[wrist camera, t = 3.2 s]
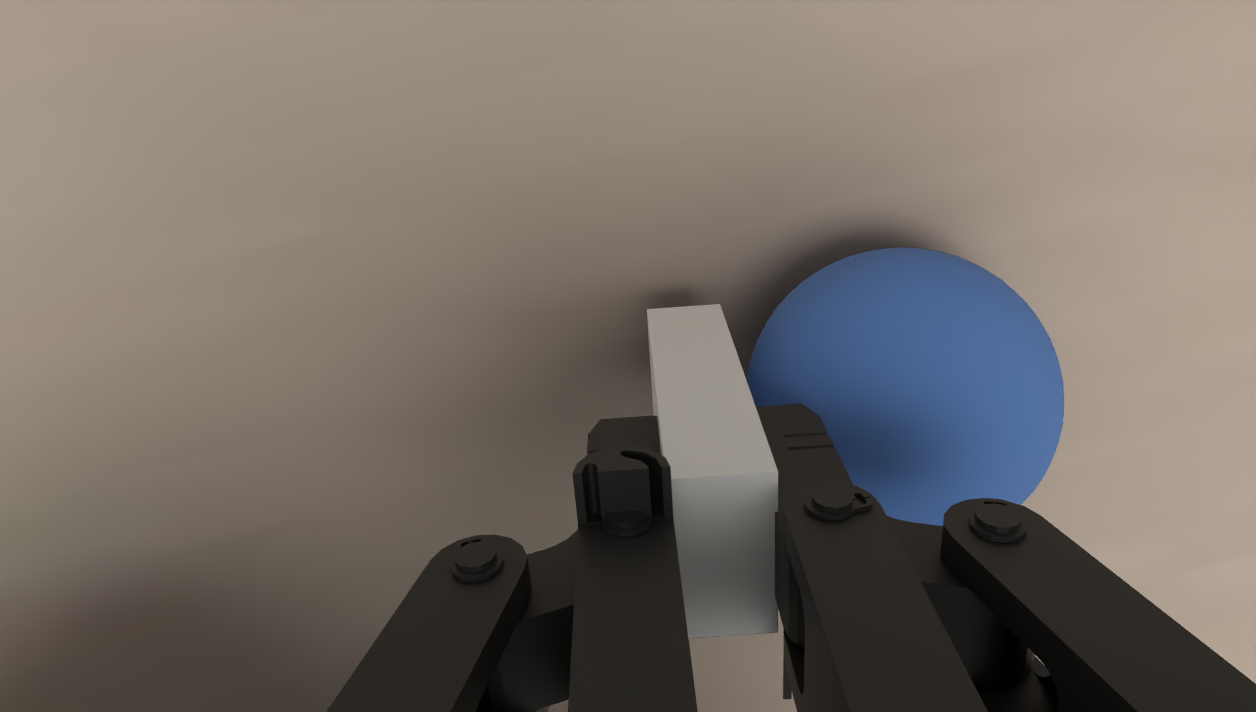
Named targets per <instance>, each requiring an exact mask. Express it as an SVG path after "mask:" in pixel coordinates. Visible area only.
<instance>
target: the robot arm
mask: <svg viewBox="0 0 1256 712" xmlns="http://www.w3.org/2000/svg"><path fill="white" fill-rule="evenodd" d="M647 320H648V336H649V352H650V367H651V383H652V399H653V414H654V416H642V417H627V418H613V419H601V420H600V421H599V422H598V423H597V424H596V426H595V427H594V428H593V429H592V430H591V432H590V433H589V434H588V447H587V453H588V454H587V456H586V457H585V458H584V459H582V460H581V461H580V462H579V463H577V465H576V467H575V470H574V472H573V481H574V490H575V499H576V509H577V518H578V530H577V531H576V532H575V533H574V534H573V535H572V536H570V537H569V538H568V539H567V540H565V541H563V542H561V543H559V544H558V545H556V546H553V547H550V548H548V549H545V550H542V551H538V552H535V553H531V554H528V555H526V553H525V551H524V548H523V546H522V545H520V544H519V543H517V542H516V541H514V540H513V539H511V538H507V537H503V536H498V535H478V536H473V537H469V538H465V539H462V540H458V541H456V542H454V543H452V544H451V545H449V546H447V547H445V548H443V549H442V550H441V551H440V552H438V553H437V554H436V555H435V556H434V557H433V558H432V559H431V560H430V562H429V563H428V565H427V566H426V568H425V569H424V571H423V572H422V574H421V575H420V576H419V578H418V579H417V581H416V582H415V584H414V585H413V587H412V588H411V590H410V591H409V593H408V594H407V595H406V597H405V598H404V600H403V601H402V603H401V604H400V606H399V607H398V609H397V610H396V611H395V613H394V614H393V616H392V617H391V619H390V620H389V622H388V623H387V625H386V626H385V628H384V629H383V630H382V632H381V633H380V635H379V636H378V638H377V639H376V641H375V642H374V644H373V645H372V647H371V648H370V649H369V651H368V652H367V654H366V655H365V657H364V658H363V660H362V661H361V663H360V664H359V666H358V667H357V668H356V670H355V671H354V673H353V674H352V676H351V677H350V679H349V680H348V682H347V683H346V684H345V686H344V687H343V689H342V690H341V692H340V693H339V695H338V696H337V698H336V699H335V701H334V702H333V703H332V705H331V706H330V708H329V709H328V711H327V712H548V706H550V705H553V704H556V703H559V702H562V701H565V700H568V699H569V704H568V712H697V704H696V696H695V688H694V680H693V672H692V664H691V656H690V648H689V640H688V638H701V637H716V636H731V635H745V634H760V633H775V632H778V609H779V612H780V616H781V620H782V624H783V627H784V674H783V699H791V694H792V693H793V697H794V701H795V705H796V708H797V712H1256V684H1255V683H1254V682H1253V681H1251V680H1250V679H1249V678H1247V677H1246V676H1245V675H1244V674H1242V673H1241V672H1240V671H1238V670H1237V669H1236V668H1235V667H1233V666H1232V665H1231V664H1230V663H1228V662H1227V661H1226V660H1224V659H1223V658H1222V657H1221V656H1219V655H1218V654H1217V653H1215V652H1214V651H1213V650H1212V649H1210V648H1209V647H1208V646H1207V645H1205V644H1204V643H1203V642H1201V641H1200V640H1199V639H1198V638H1196V637H1195V636H1194V635H1192V634H1191V633H1190V632H1189V631H1187V630H1186V629H1185V628H1184V627H1182V626H1181V625H1180V624H1178V623H1177V622H1176V621H1175V620H1173V619H1172V618H1171V617H1169V616H1168V615H1167V614H1166V613H1164V612H1163V611H1162V610H1161V609H1159V608H1158V607H1157V606H1155V605H1154V604H1153V603H1152V602H1150V601H1149V600H1148V599H1146V598H1145V597H1144V596H1143V595H1141V594H1140V593H1139V592H1138V591H1136V590H1135V589H1134V588H1132V587H1131V586H1130V585H1129V584H1127V583H1126V582H1125V581H1123V580H1122V579H1121V578H1120V577H1118V576H1117V575H1116V574H1114V573H1113V572H1112V571H1111V570H1109V569H1108V568H1107V567H1106V566H1104V565H1103V564H1102V563H1100V562H1099V561H1098V560H1097V559H1095V558H1094V557H1093V556H1091V555H1090V554H1089V553H1088V552H1086V551H1085V550H1084V549H1083V548H1081V547H1080V546H1079V545H1077V544H1076V543H1075V542H1074V541H1072V540H1071V539H1070V538H1068V537H1067V536H1066V535H1065V534H1063V533H1062V532H1061V531H1060V530H1058V529H1057V528H1056V527H1054V526H1053V525H1052V524H1051V523H1049V522H1048V521H1047V520H1045V519H1044V518H1043V517H1042V516H1040V515H1038V514H1037V513H1035V512H1033V511H1032V510H1030V509H1028V508H1026V507H1025V506H1022V505H1018V504H1015V503H1012V502H1009V501H1006V500H1001V499H993V498H978V499H967V500H964V501H961V502H959V503H956V504H954V505H952V506H951V507H950V508H949V509H948V510H947V511H946V512H945V513H944V519H943V526H938V525H930V524H923V523H915V522H909V521H904V520H899V519H895V518H893V517H890V516H887V515H886V514H885V512H884V510H883V508H882V506H881V504H880V503H879V502H878V501H877V499H876V498H875V497H874V496H873V495H872V494H871V493H869V492H867V491H865V490H863V489H861V488H860V487H858V486H854V485H853V483H852V481H851V479H850V477H849V475H848V473H847V471H846V469H845V467H844V465H843V463H842V461H841V459H840V457H839V454H838V452H837V450H836V448H834V444H833V442H832V440H831V438H830V436H829V435H828V434H827V430H826V428H825V426H824V424H823V422H822V420H821V418H820V416H819V415H817V414H816V413H815V412H813V411H812V410H810V409H809V408H807V407H806V406H804V405H803V404H802V403H797V404H783V405H768V406H755V404H754V401H753V398H752V395H751V392H750V389H749V386H748V384H747V381H746V378H745V375H744V372H743V369H742V366H741V363H740V360H739V358H738V355H737V352H736V349H735V346H734V343H733V340H732V337H731V335H730V332H729V329H728V326H727V323H726V320H725V317H724V314H723V311H722V309H721V306H720V304H712V305H698V306H684V307H670V308H656V309H647ZM1035 655H1036V656H1037V657H1038V658H1039V659H1040V660H1041V661H1042V663H1043V664H1044V665H1045V666H1044V665H1043V664H1042V663H1041V662H1040V661H1039V660H1038V659H1037V658H1036V657H1035Z"/></svg>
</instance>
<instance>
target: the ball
mask: <svg viewBox="0 0 1256 712" xmlns="http://www.w3.org/2000/svg"><path fill="white" fill-rule="evenodd" d="M747 384H748V386H749V389H750V392H751V395H752V398H753V401H754V404H755V406H768V405H783V404H797V403H802V404H803V405H804V406H806V407H807V408H809V409H810V410H812V411H813V412H815V413H816V414H817V415H819V416H820V418H821V420H822V422H823V424H824V426H825V428H826V430H827V434H828V435H829V436H830V438H831V440H832V442H833V444H834V448H836V450H837V452H838V454H839V457H840V459H841V461H842V463H843V465H844V467H845V469H846V471H847V473H848V475H849V477H850V479H851V481H852V483H853V485H854V486H858V487H860V488H861V489H863V490H865V491H867V492H869V493H871V494H872V495H873V496H874V497H875V498H876V499H877V501H878V502H879V503H880V504H881V506H882V508H883V510H884V512H885V514H886V515H887V516H890V517H893V518H895V519H899V520H904V521H909V522H915V523H923V524H930V525H938V526H943V519H944V513H945V512H946V511H947V510H948V509H949V508H950V507H951V506H952V505H954V504H956V503H959V502H961V501H964V500H967V499H978V498H993V499H1001V500H1006V501H1009V502H1012V503H1015V504H1018V505H1021V504H1022V503H1023V502H1024V501H1025V500H1026V499H1027V498H1028V497H1029V496H1030V494H1031V493H1032V492H1033V491H1034V490H1035V488H1036V487H1037V485H1038V484H1039V482H1040V481H1041V480H1042V478H1043V476H1044V475H1045V473H1046V471H1047V469H1048V467H1049V465H1050V463H1051V461H1052V458H1053V455H1054V453H1055V450H1056V447H1057V445H1058V442H1059V438H1060V433H1061V429H1062V425H1063V414H1064V390H1063V379H1062V375H1061V370H1060V365H1059V362H1058V359H1057V355H1056V353H1055V350H1054V347H1053V345H1052V342H1051V340H1050V337H1049V336H1048V334H1047V332H1046V331H1045V329H1044V327H1043V326H1042V324H1041V322H1040V321H1039V319H1038V317H1037V316H1036V314H1035V313H1034V312H1033V310H1032V309H1031V308H1030V307H1029V306H1028V304H1027V303H1026V302H1025V301H1024V300H1023V299H1022V298H1021V297H1020V296H1019V295H1018V294H1017V293H1016V292H1015V291H1014V290H1013V289H1011V288H1010V287H1009V286H1008V285H1007V284H1006V283H1005V282H1003V281H1002V280H1001V279H999V278H998V277H996V276H995V275H993V274H992V273H990V272H988V271H987V270H985V269H983V268H981V267H980V266H978V265H976V264H973V263H971V262H969V261H967V260H964V259H962V258H960V257H957V256H953V255H950V254H946V253H942V252H938V251H933V250H927V249H919V248H887V249H879V250H872V251H867V252H863V253H859V254H855V255H852V256H849V257H846V258H844V259H841V260H838V261H836V262H834V263H832V264H830V265H828V266H826V267H824V268H822V269H820V270H818V271H817V272H815V273H814V274H812V275H811V276H810V277H808V278H807V279H805V280H804V281H802V282H801V283H800V284H799V285H798V286H797V287H796V288H794V289H793V290H792V291H791V292H790V293H789V294H788V295H787V296H786V297H785V298H784V300H783V301H782V302H781V303H780V304H779V305H778V306H777V308H776V309H775V311H774V312H773V313H772V315H771V316H770V318H769V319H768V321H767V323H766V325H765V326H764V328H763V330H762V332H761V334H760V336H759V338H758V340H757V342H756V345H755V348H754V351H753V353H752V356H751V360H750V365H749V369H748V375H747Z"/></svg>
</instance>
